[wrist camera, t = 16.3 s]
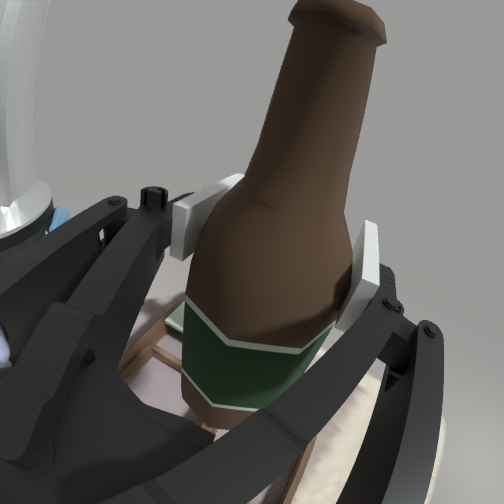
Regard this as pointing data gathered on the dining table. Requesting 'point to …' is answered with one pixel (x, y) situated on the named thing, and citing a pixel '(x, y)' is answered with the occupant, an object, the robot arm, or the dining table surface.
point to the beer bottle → (282, 225)
